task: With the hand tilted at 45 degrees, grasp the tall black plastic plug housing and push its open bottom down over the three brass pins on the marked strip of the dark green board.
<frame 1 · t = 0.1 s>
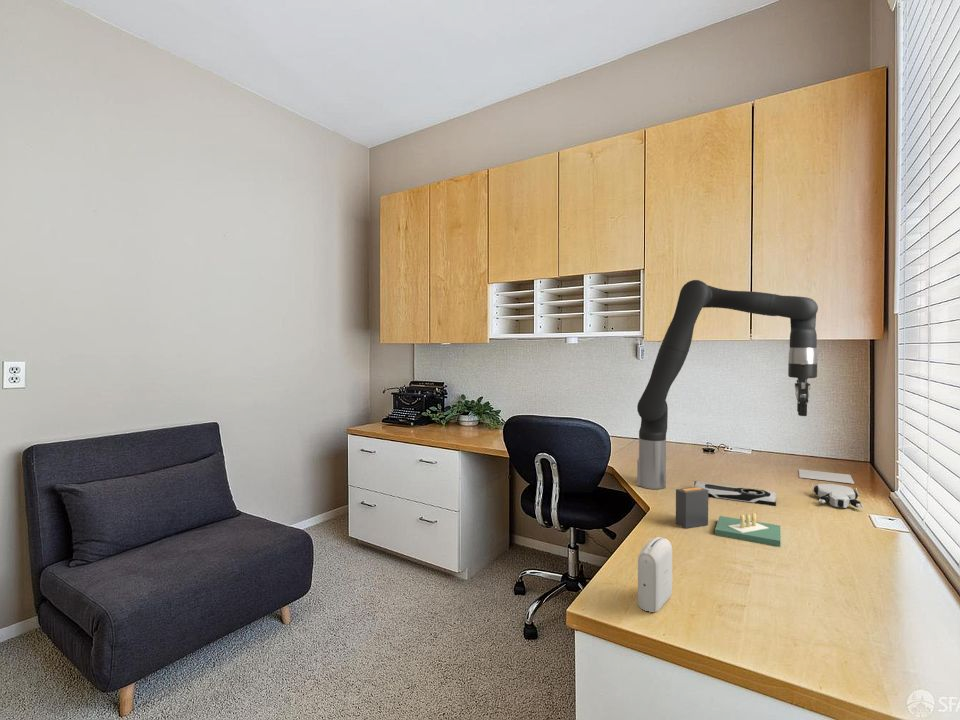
hand: (801, 414, 152), 29 cm above the table, tool pointing down, fingers open, 8 cm apart
plug housing: (691, 524, 139), on the table
graphics card: (732, 499, 163), on the table
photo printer: (655, 602, 98), on the table
header board: (747, 532, 132), on the table
paper stack: (812, 479, 184), on the table
robot toy: (836, 504, 156), on the table
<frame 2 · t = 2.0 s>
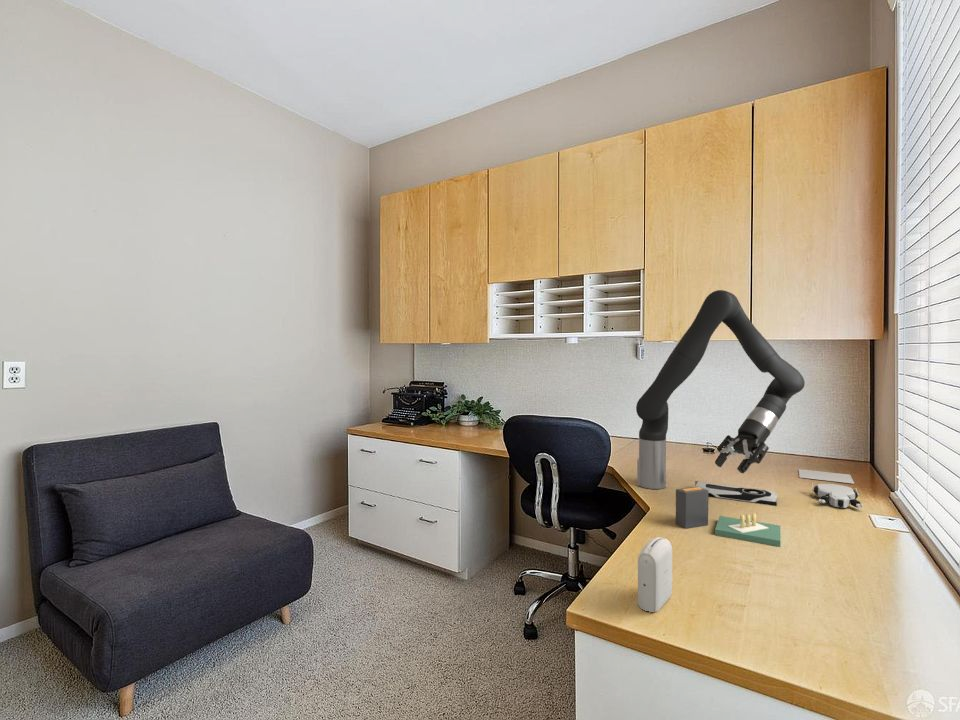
hand: (728, 468, 142), 15 cm above the table, tool tilted 45°, fingers open, 8 cm apart
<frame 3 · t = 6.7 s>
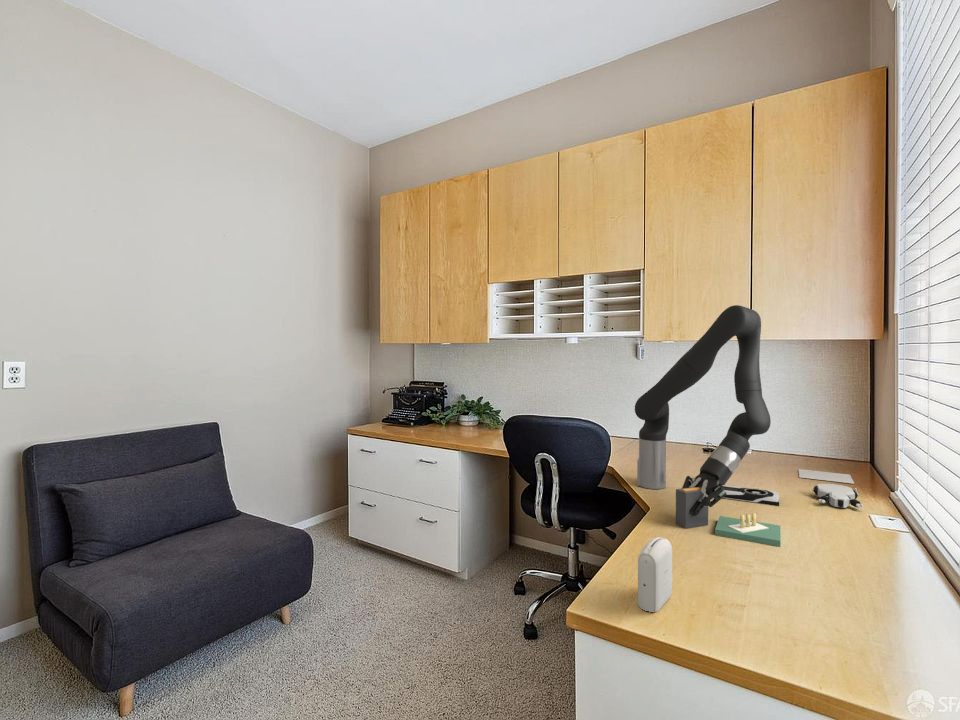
hand: (686, 511, 138), 4 cm above the table, tool tilted 45°, fingers closed on plug housing, 4 cm apart
plug housing: (691, 524, 139), on the table, touching gripper
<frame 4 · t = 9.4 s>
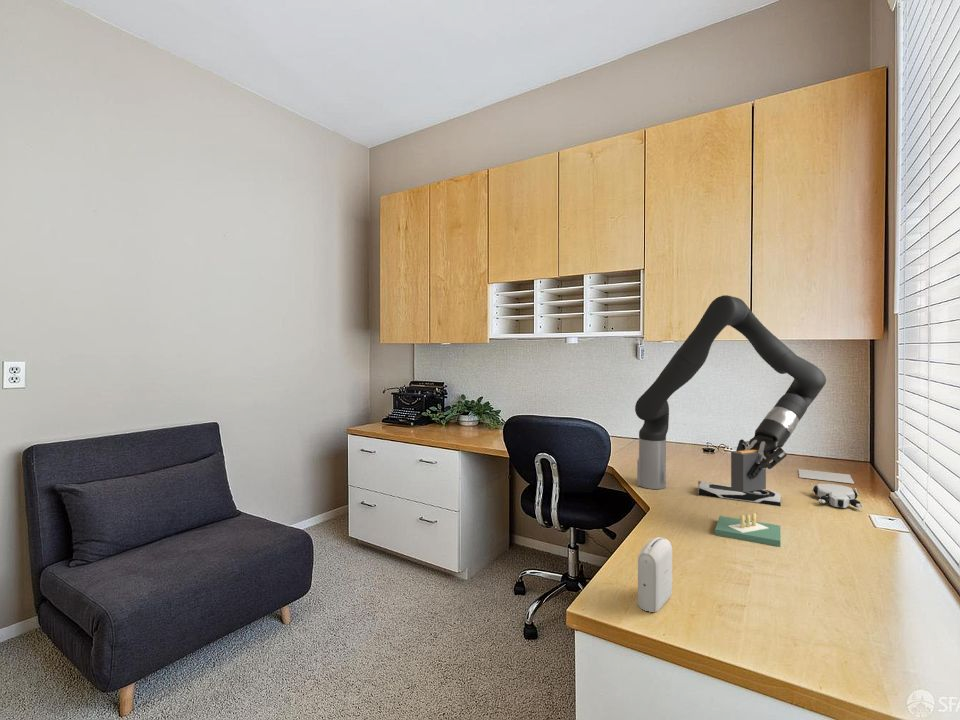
hand: (743, 474, 131), 16 cm above the table, tool tilted 45°, fingers closed on plug housing, 4 cm apart
plug housing: (748, 488, 132), point 12 cm above the table, touching gripper
when the fingers open (6 cm above the table, at t = 12.0 s): plug housing stays where it is, resting on header board.
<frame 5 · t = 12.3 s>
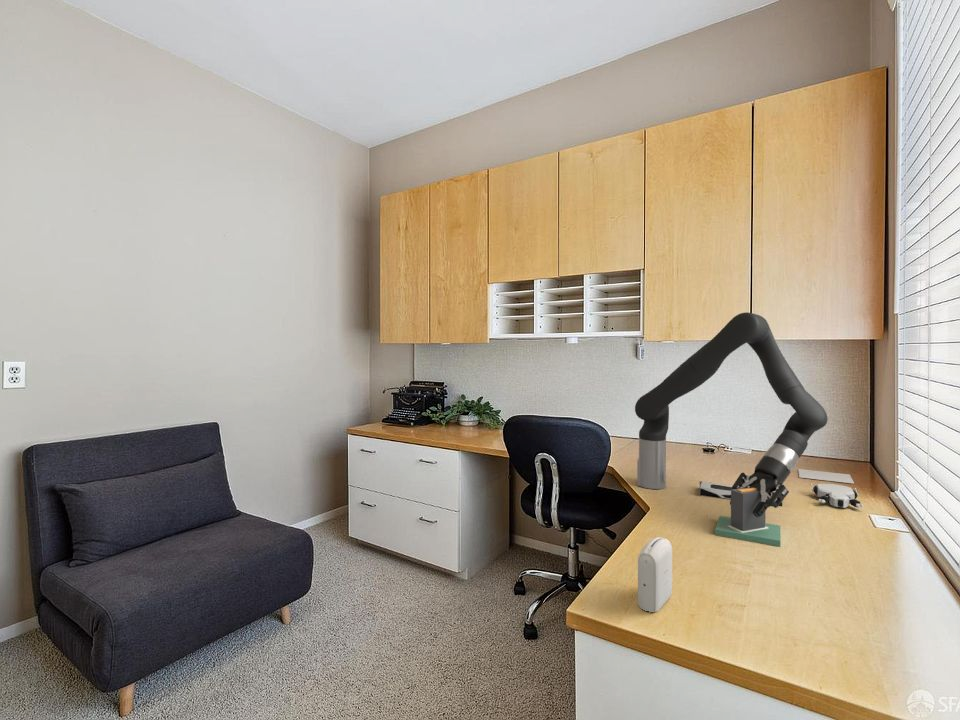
hand: (743, 510, 131), 6 cm above the table, tool tilted 45°, fingers open, 7 cm apart
plug housing: (747, 526, 132), point 2 cm above the table, touching header board
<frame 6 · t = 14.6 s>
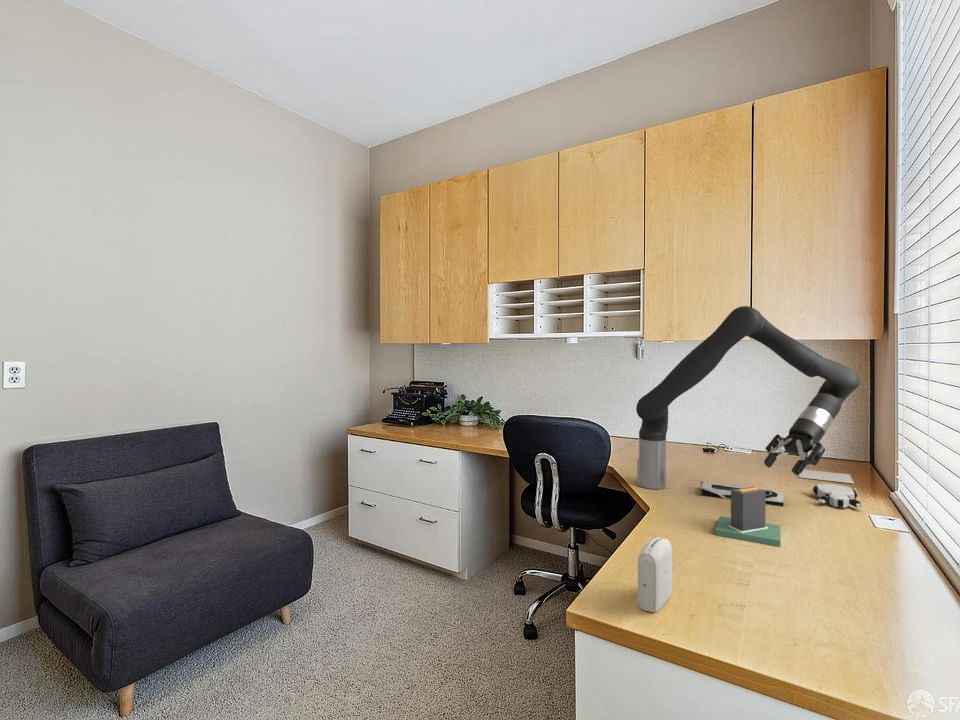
hand: (780, 469, 135), 16 cm above the table, tool tilted 45°, fingers open, 8 cm apart
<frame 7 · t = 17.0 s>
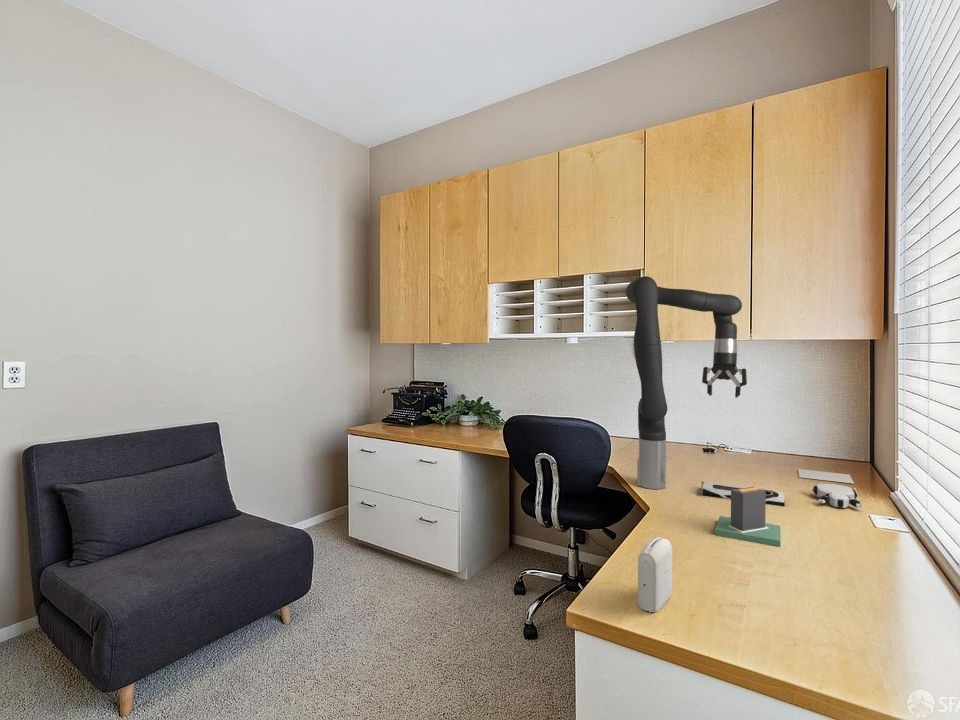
hand: (723, 396, 175), 32 cm above the table, tool pointing down, fingers open, 8 cm apart
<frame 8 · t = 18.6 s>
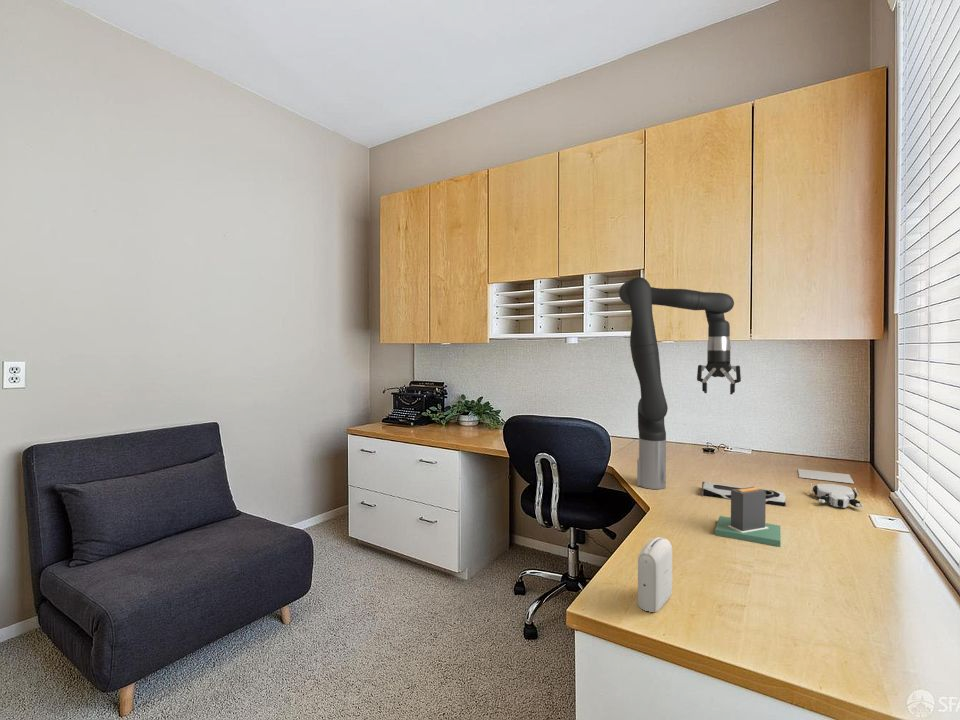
hand: (718, 393, 177), 33 cm above the table, tool pointing down, fingers open, 8 cm apart
at the end: plug housing 0.0 cm off-centre on the header board, point 1.7 cm above the header board's base; plug housing tilted 0°; the gripper is holding nothing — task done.
